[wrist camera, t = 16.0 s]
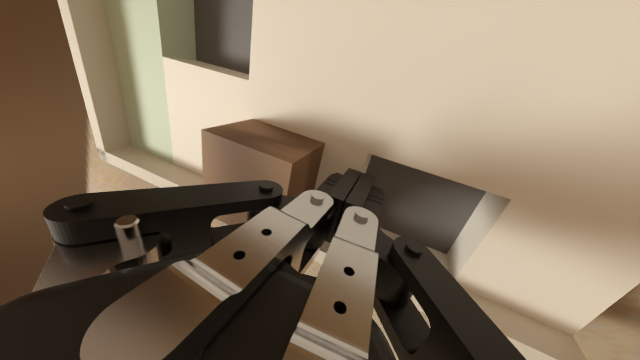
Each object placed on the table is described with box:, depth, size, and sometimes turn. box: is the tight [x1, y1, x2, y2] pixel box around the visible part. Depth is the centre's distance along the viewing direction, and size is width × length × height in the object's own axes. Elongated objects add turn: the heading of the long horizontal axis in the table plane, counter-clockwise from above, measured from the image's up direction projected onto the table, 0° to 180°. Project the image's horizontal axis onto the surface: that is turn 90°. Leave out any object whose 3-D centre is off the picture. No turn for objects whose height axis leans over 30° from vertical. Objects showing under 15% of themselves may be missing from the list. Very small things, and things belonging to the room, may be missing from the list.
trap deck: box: [58, 0, 640, 360], centre depth 13 cm, size 34×16×5 cm, turn 78°
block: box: [201, 119, 325, 225], centre depth 13 cm, size 5×5×4 cm
